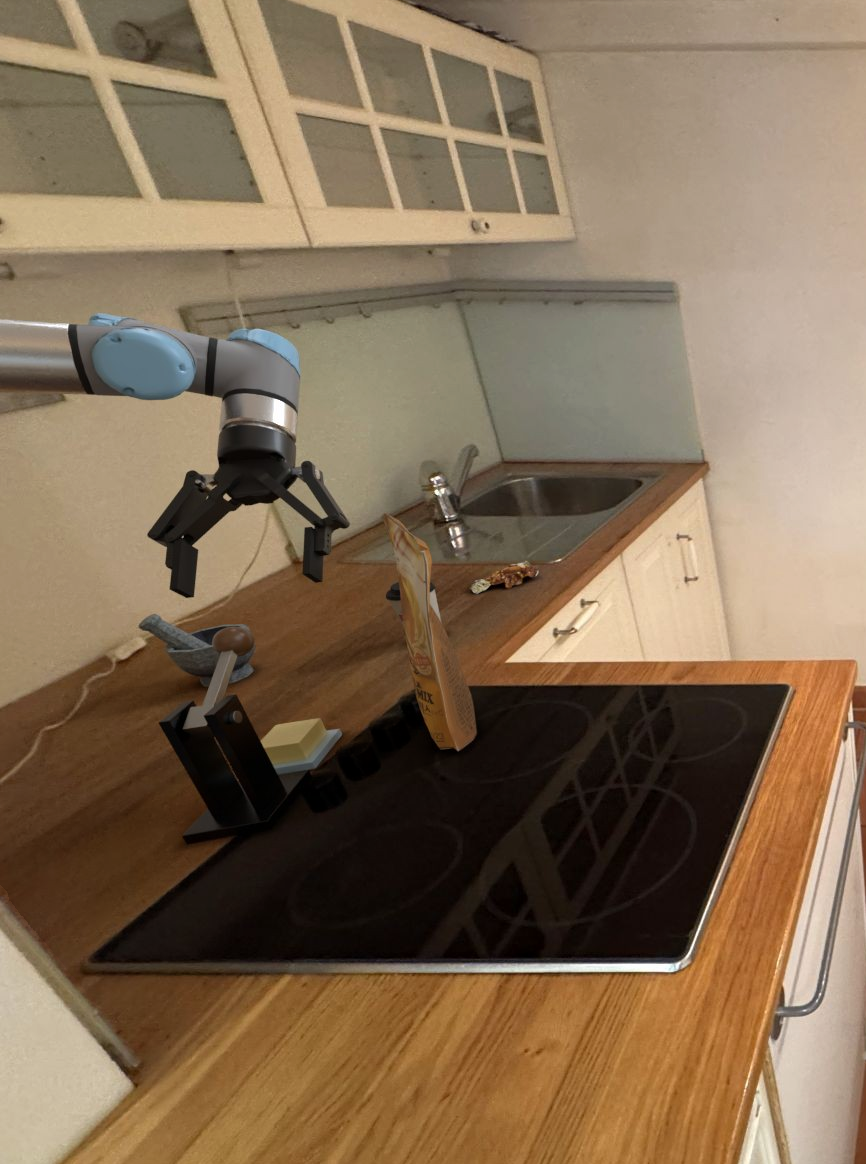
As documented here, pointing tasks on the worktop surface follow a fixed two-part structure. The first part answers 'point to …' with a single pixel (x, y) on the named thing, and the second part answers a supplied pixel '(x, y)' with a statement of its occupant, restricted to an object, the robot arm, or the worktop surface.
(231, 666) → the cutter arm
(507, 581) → the pastry
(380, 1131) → the worktop surface
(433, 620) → the pancake mix bag
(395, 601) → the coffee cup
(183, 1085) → the worktop surface
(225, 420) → the robot arm
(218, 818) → the lever base
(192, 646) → the mortar and pestle
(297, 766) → the butter dish
